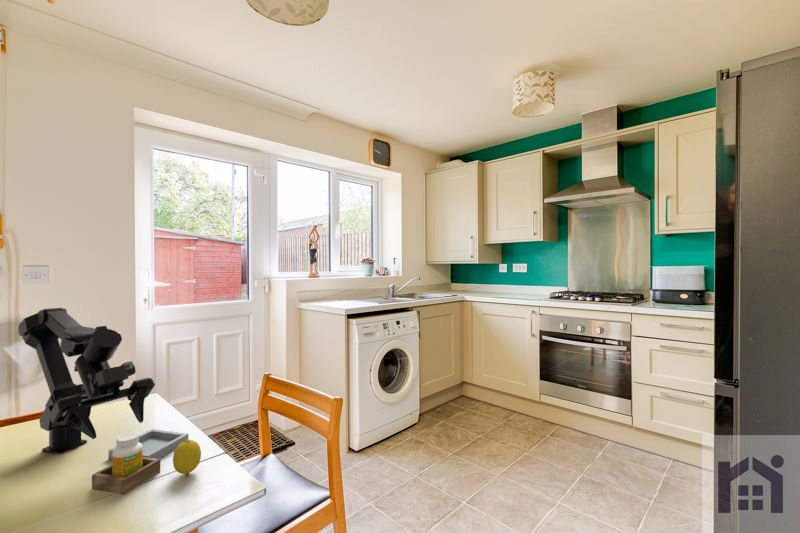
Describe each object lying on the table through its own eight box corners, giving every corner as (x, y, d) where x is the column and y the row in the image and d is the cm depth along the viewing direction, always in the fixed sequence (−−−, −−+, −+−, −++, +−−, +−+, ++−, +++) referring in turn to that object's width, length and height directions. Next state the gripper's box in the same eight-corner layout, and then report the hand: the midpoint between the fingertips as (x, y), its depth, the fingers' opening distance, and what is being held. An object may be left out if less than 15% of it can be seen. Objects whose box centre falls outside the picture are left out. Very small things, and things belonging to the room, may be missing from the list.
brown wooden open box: (91, 488, 77) (91, 474, 77) (130, 467, 85) (130, 454, 85) (124, 494, 75) (124, 480, 75) (160, 472, 83) (160, 459, 83)
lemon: (188, 483, 79) (188, 446, 79) (166, 480, 80) (167, 444, 80) (206, 469, 85) (206, 435, 85) (186, 466, 86) (186, 432, 86)
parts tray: (108, 459, 89) (108, 450, 89) (152, 436, 101) (152, 429, 101) (148, 465, 86) (148, 456, 86) (188, 441, 98) (188, 433, 98)
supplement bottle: (122, 490, 77) (123, 444, 77) (105, 484, 78) (106, 439, 79) (148, 476, 82) (148, 433, 82) (131, 471, 84) (132, 429, 84)
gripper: (55, 362, 76) (79, 424, 71) (151, 345, 93) (176, 395, 87) (40, 393, 80) (61, 455, 75) (134, 372, 96) (157, 421, 91)
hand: (119, 429), depth 82 cm, fingers open, 9 cm apart
